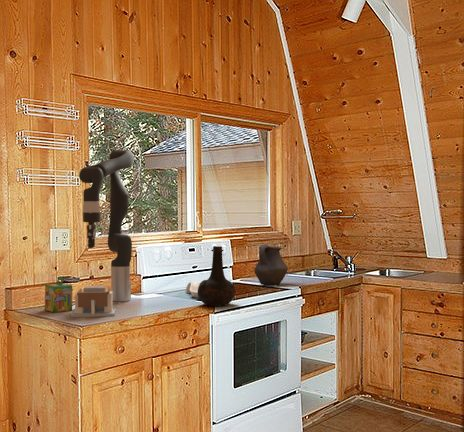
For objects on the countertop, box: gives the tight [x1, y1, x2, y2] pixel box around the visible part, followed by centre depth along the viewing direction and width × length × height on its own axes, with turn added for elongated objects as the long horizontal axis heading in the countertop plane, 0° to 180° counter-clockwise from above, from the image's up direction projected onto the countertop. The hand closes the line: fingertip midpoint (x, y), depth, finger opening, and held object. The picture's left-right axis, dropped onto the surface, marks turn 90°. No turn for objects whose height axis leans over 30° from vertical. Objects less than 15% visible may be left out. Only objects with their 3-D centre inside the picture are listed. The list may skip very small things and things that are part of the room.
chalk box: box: [44, 276, 73, 313], centre depth 253 cm, size 9×9×15 cm
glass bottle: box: [198, 245, 236, 307], centre depth 268 cm, size 18×18×28 cm
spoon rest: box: [185, 281, 201, 299], centre depth 299 cm, size 24×12×7 cm, turn 26°
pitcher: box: [254, 244, 288, 286], centre depth 343 cm, size 21×22×25 cm
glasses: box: [76, 287, 111, 307], centre depth 244 cm, size 14×13×6 cm
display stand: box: [70, 285, 117, 318], centre depth 244 cm, size 14×18×11 cm
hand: (91, 247), depth 255 cm, fingers open, 8 cm apart
